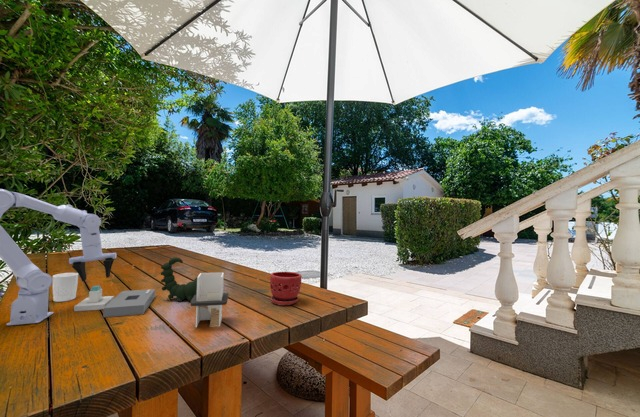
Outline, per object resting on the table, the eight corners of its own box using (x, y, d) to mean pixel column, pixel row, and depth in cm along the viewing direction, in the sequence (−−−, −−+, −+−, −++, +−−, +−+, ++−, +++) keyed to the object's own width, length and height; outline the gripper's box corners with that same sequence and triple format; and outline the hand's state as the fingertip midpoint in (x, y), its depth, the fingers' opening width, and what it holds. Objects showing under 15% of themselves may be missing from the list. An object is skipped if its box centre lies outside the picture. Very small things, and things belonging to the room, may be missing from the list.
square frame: (104, 309, 105) (104, 304, 105) (74, 311, 102) (74, 306, 102) (113, 300, 115) (114, 295, 115) (86, 302, 112) (86, 297, 112)
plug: (97, 307, 107) (98, 287, 107) (88, 307, 106) (89, 288, 106) (101, 303, 111) (102, 284, 111) (93, 304, 110) (93, 285, 110)
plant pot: (295, 308, 112) (296, 278, 113) (264, 305, 115) (265, 275, 115) (304, 299, 125) (304, 271, 125) (275, 296, 128) (276, 269, 128)
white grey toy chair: (156, 343, 80) (159, 285, 81) (177, 313, 104) (178, 268, 104) (247, 336, 87) (249, 282, 87) (247, 309, 110) (248, 267, 110)
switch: (143, 314, 101) (143, 304, 102) (103, 317, 97) (103, 307, 97) (155, 296, 122) (155, 288, 122) (122, 298, 118) (122, 290, 118)
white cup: (65, 302, 111) (66, 277, 111) (45, 302, 111) (46, 276, 111) (82, 296, 119) (83, 273, 119) (64, 296, 119) (65, 272, 119)
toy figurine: (158, 307, 114) (220, 303, 114) (155, 260, 114) (217, 256, 115) (170, 299, 124) (227, 296, 124) (168, 256, 124) (225, 253, 124)
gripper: (117, 240, 115) (121, 272, 117) (72, 244, 110) (77, 278, 111) (111, 243, 108) (116, 277, 110) (64, 248, 103) (69, 284, 105)
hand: (96, 278), depth 110 cm, fingers open, 7 cm apart
